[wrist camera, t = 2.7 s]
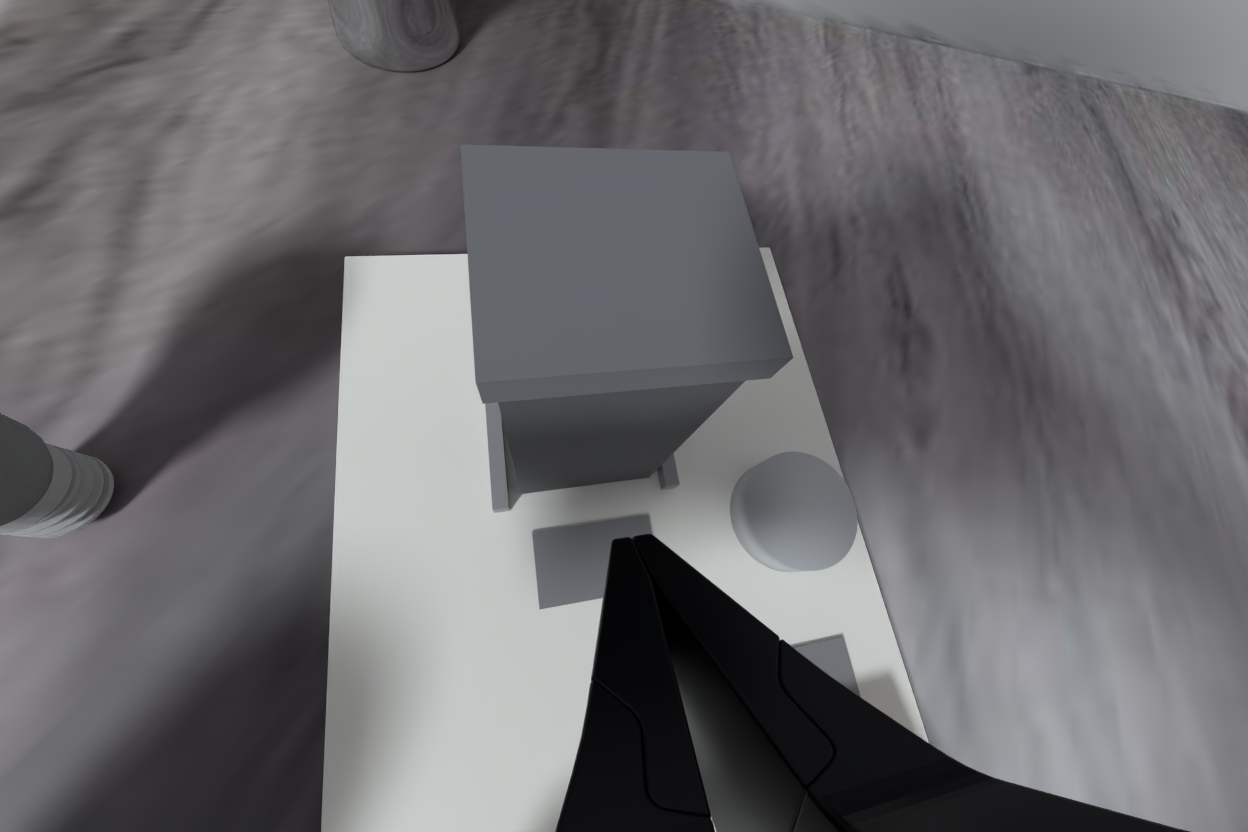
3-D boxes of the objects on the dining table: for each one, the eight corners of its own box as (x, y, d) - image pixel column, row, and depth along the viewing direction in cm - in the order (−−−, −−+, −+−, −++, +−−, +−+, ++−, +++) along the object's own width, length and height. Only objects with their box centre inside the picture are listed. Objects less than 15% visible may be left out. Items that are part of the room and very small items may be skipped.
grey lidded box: (655, 482, 16) (793, 358, 7) (515, 500, 15) (475, 382, 6) (634, 371, 18) (729, 151, 9) (505, 381, 17) (460, 145, 8)
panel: (999, 1049, 13) (1104, 1155, 11) (322, 1378, 10) (246, 1657, 7) (758, 264, 22) (785, 223, 20) (356, 276, 18) (327, 228, 16)
